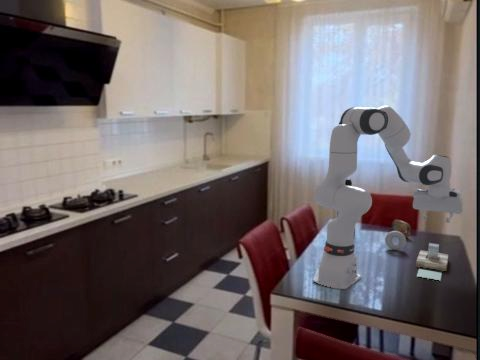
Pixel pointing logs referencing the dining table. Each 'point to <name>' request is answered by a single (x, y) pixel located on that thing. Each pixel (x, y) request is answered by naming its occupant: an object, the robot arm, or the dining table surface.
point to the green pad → (429, 274)
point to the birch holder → (432, 261)
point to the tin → (401, 227)
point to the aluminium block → (433, 251)
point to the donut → (392, 245)
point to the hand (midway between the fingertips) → (436, 220)
